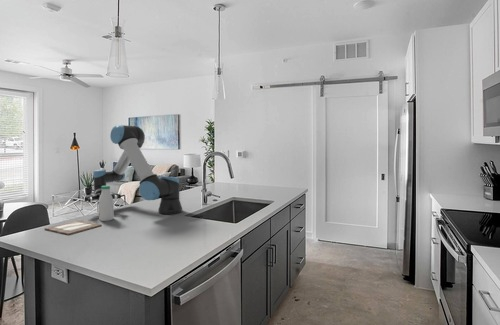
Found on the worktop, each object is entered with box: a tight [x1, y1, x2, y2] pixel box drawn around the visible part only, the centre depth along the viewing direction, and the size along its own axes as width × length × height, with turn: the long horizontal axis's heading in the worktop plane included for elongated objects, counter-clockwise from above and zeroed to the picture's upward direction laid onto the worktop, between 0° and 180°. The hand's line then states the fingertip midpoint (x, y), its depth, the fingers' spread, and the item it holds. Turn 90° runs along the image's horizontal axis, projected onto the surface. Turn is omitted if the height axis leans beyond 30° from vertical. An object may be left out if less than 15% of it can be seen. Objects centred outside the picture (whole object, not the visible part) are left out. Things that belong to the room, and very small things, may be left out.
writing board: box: [44, 219, 102, 236], centre depth 155 cm, size 20×18×1 cm
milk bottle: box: [98, 185, 115, 222], centre depth 171 cm, size 8×8×20 cm
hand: (104, 199), depth 176 cm, fingers open, 13 cm apart
